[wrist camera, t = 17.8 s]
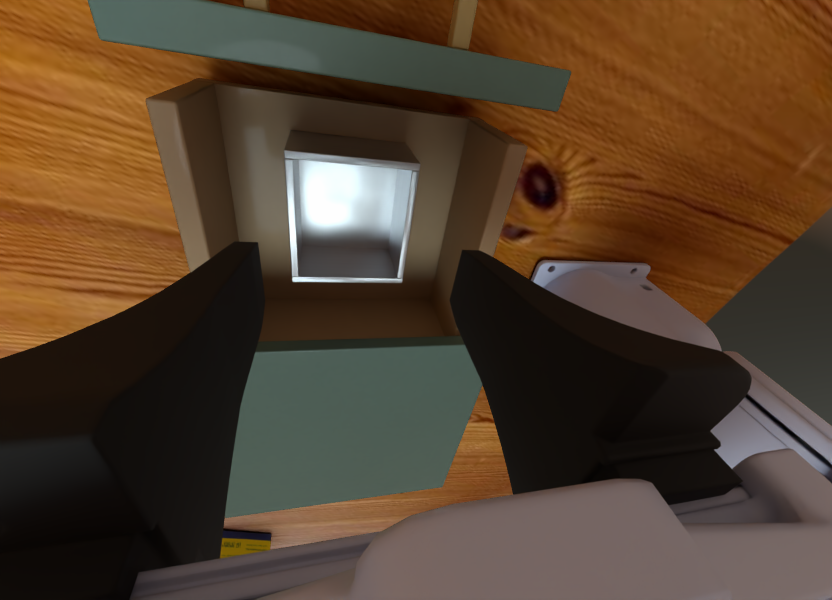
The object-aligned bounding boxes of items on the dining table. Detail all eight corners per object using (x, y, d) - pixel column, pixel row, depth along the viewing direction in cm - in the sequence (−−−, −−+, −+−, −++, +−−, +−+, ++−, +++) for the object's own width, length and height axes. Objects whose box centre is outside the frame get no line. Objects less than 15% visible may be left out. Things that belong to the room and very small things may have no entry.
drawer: (114, -264, 9) (-74, -527, 5) (545, -116, 13) (664, -194, 8) (226, 298, 20) (199, 374, 16) (444, 299, 24) (472, 361, 19)
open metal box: (405, 143, 16) (420, 163, 14) (392, 251, 19) (402, 283, 17) (290, 129, 15) (283, 149, 12) (296, 247, 18) (292, 282, 16)
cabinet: (211, 259, 19) (164, 355, 14) (455, 265, 23) (499, 343, 17) (245, 417, 28) (225, 518, 22) (420, 403, 31) (442, 487, 26)
